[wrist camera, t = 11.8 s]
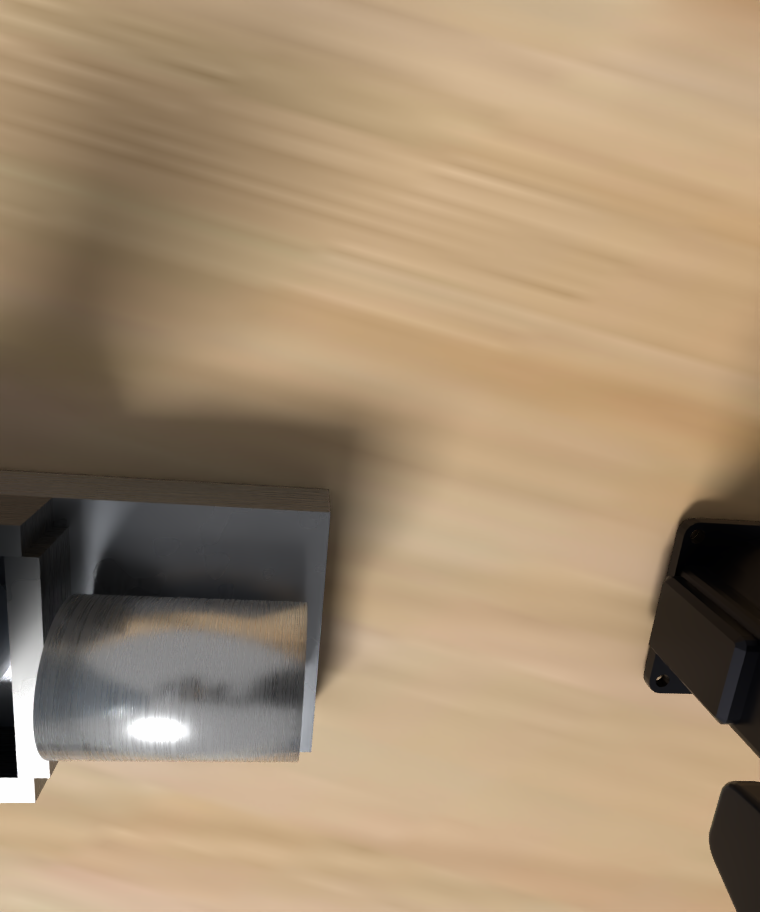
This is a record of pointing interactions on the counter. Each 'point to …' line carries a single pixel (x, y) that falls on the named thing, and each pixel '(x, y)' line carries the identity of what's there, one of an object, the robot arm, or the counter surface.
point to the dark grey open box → (157, 622)
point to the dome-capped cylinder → (4, 634)
